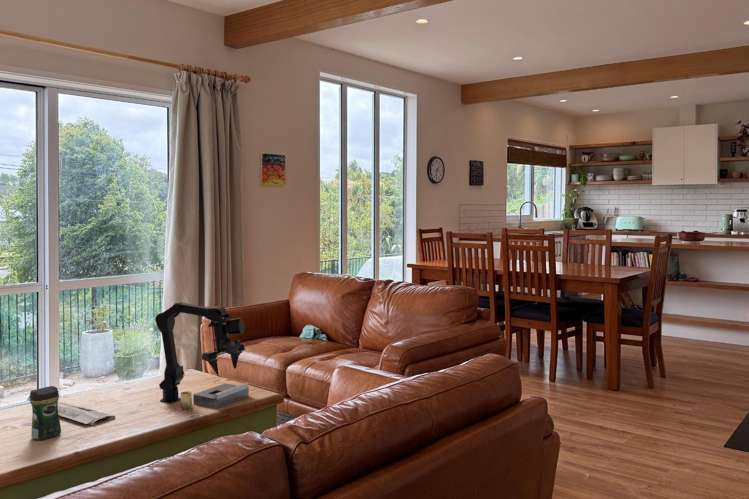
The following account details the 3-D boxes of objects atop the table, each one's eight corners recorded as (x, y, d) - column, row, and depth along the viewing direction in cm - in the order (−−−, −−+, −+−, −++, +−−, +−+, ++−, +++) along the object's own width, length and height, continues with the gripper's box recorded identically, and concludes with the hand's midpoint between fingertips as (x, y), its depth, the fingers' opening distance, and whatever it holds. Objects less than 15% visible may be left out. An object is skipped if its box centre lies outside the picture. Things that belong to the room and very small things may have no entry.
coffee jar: (54, 430, 246) (52, 383, 245) (64, 435, 241) (62, 386, 240) (28, 437, 239) (26, 388, 237) (37, 442, 234) (35, 392, 233)
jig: (193, 403, 279) (193, 389, 279) (225, 391, 296) (225, 378, 296) (217, 408, 272) (217, 394, 272) (248, 396, 290) (248, 383, 289)
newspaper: (115, 419, 260) (115, 411, 260) (88, 428, 249) (87, 420, 249) (62, 405, 278) (61, 397, 278) (34, 414, 267) (34, 405, 267)
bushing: (178, 409, 271) (178, 393, 270) (186, 406, 275) (186, 390, 274) (186, 411, 269) (185, 394, 268) (194, 408, 272) (193, 392, 272)
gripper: (213, 341, 264) (219, 378, 264) (249, 331, 278) (255, 366, 278) (198, 340, 271) (203, 376, 272) (234, 331, 285) (239, 365, 286)
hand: (226, 371), depth 277 cm, fingers open, 9 cm apart
